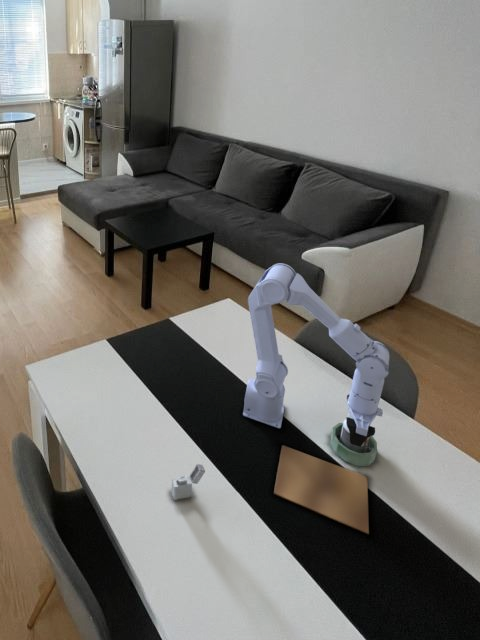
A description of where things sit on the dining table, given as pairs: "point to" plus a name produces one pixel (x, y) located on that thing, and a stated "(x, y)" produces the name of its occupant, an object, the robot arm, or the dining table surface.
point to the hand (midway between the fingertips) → (355, 434)
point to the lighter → (186, 483)
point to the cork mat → (323, 488)
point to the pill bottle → (346, 439)
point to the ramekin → (348, 454)
